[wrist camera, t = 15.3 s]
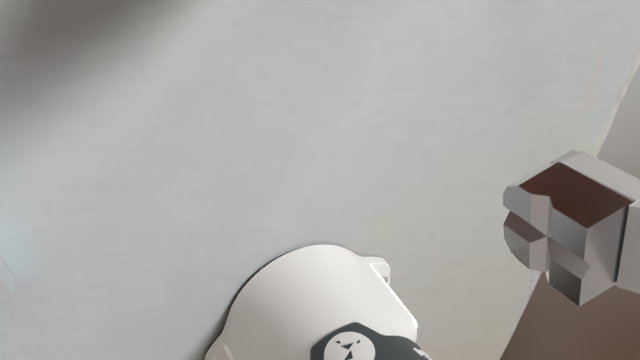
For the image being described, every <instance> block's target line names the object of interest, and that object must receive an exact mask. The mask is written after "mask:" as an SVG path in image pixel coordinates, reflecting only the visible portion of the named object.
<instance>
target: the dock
mask: <svg viewBox="0 0 640 360" xmlns="http://www.w3.org/2000/svg"><path fill="white" fill-rule="evenodd" d="M13 298H15V286H14V274H13V273H12V272H11V270H10V269H9V268H8V266H7V265H6V264H5V262H4V261H3V260H2V258H1V257H0V304H2V303H5V302H7V301H9V300H11V299H13Z"/></svg>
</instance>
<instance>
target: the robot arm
mask: <svg viewBox="0 0 640 360" xmlns="http://www.w3.org/2000/svg"><path fill="white" fill-rule="evenodd" d="M503 206H505V207H506V208H507V209H508V210H510V212H509V214H508V216H507V218H506V220H505V222H504V224H503V225H504V238H505V240H506V242H507V245H508V247H509V249H510V251H511V252H512V253H513V255H514V256H515V257H516V258H517V259H518V260H519V261H520V262H521V263H522V264H524V265H525V266H526V267H527V268H529V269H532V270H537V271H542V272H546V276H547V279H548V283H549V284H550V285H551V286H552V287H554V288H555V289H556V290H558V291H559V292H560V293H562V294H563V295H564V296H566V297H567V298H568V299H570V300H571V301H572V302H574V303H575V304H576V305H578V306H581V305H582V304H584V303H586V302H587V301H589V300H590V299H592V298H594V297H595V296H597V295H599V294H600V293H602V292H604V291H605V290H607V289H608V288H610V287H612V286H613V285H615V284H617V285H616V286H617V287H620V288H623V289H626V290H630V291H633V292H636V293H640V180H639V179H637V178H635V177H633V176H631V175H629V174H627V173H625V172H623V171H621V170H619V169H617V168H615V167H613V166H611V165H609V164H607V163H605V162H603V161H601V160H599V159H597V158H595V157H593V156H591V155H589V154H587V153H585V152H582V151H575V150H572V151H570V152H568V153H567V154H565V155H563V156H561V157H559V158H558V159H556V160H554V161H552V162H551V163H550V164H546V165H545V166H543V167H541V168H539V169H538V170H536V171H534V172H532V173H530V174H529V175H527V176H525V177H523V178H522V179H520V180H518V181H516V182H515V183H513V184H511V185H509V186H508V187H507V188H506V190H505V192H504V194H503ZM389 285H390V267H389V265H388V264H387V262H386V261H385V260H384V259H383V258H380V257H361V256H358V255H356V254H354V253H353V252H351V251H349V250H347V249H345V248H342V247H339V246H334V245H313V246H308V247H304V248H300V249H297V250H294V251H292V252H289V253H287V254H285V255H283V256H281V257H279V258H277V259H276V260H274V261H272V262H271V263H269V264H268V265H267V266H265V267H264V268H263V269H261V270H260V271H259V272H258V273H257V274H256V275H255V276H254V277H253V278H251V280H250V281H249V282H248V283H247V284H246V285H245V286H244V288H243V289H242V290H241V292H240V293H239V294H238V296H237V298H236V299H235V301H234V303H233V305H232V307H231V309H230V312H229V314H228V317H227V320H226V324H225V326H224V329H223V331H222V333H221V335H220V336H219V337H218V338H217V339H216V341H215V342H214V343H213V344H212V346H211V347H210V349H209V350H208V352H207V353H206V355H205V360H432V359H431V358H430V357H429V356H428V355H427V354H426V353H425V352H423V351H422V350H421V349H420V348H419V346H418V345H417V344H416V339H417V330H416V329H417V327H418V324H417V322H416V320H415V318H414V317H413V316H412V314H411V313H410V312H409V311H408V309H407V308H406V307H405V306H404V304H403V303H402V302H401V301H400V299H399V298H398V297H397V296H396V294H395V293H394V292H393V291H392V289H391V288H390V287H389Z"/></svg>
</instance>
